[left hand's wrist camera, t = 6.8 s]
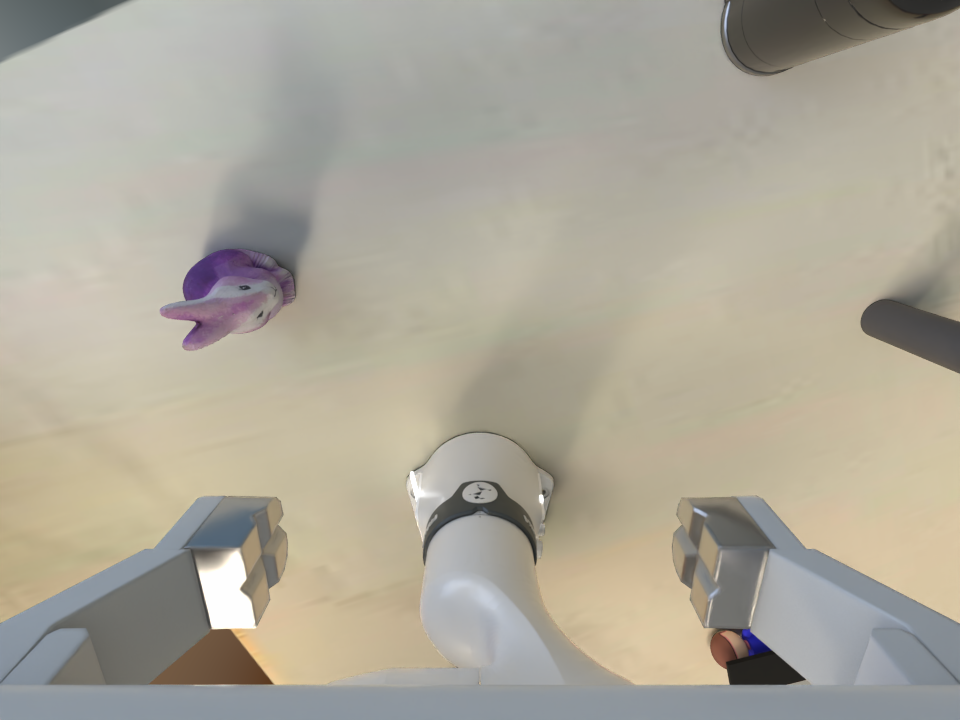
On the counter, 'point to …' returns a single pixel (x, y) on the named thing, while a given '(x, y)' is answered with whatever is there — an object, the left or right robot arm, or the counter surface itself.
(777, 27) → the right robot arm
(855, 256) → the counter surface
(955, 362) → the jar
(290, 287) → the figurine
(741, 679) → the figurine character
